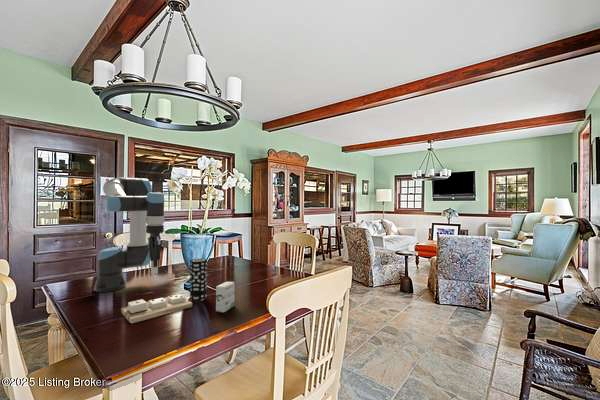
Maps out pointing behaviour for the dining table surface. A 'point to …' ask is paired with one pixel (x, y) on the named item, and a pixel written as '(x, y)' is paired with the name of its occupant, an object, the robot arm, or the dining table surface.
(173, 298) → the three pip tile
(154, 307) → the two pip tile
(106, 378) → the dining table surface
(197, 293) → the spotted tube
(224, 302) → the ink box
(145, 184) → the robot arm
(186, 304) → the button board
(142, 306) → the one pip tile
